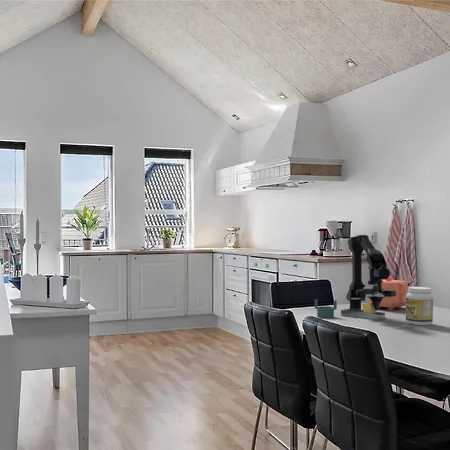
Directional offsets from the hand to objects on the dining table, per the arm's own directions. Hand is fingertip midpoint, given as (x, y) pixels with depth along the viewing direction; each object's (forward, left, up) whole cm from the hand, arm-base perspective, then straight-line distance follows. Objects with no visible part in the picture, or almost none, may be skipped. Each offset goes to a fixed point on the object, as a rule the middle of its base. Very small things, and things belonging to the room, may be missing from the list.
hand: (376, 310), depth 293 cm
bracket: (+13, -20, -5) cm, 25 cm away
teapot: (-47, -16, -5) cm, 50 cm away
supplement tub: (-5, +20, -5) cm, 21 cm away
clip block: (0, -3, -2) cm, 4 cm away
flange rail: (0, -6, -4) cm, 8 cm away
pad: (+10, -2, -4) cm, 11 cm away
